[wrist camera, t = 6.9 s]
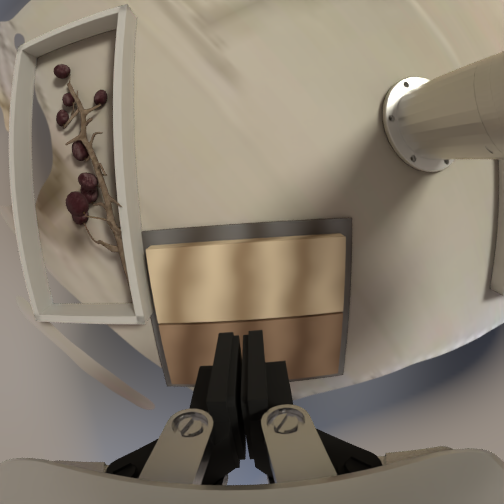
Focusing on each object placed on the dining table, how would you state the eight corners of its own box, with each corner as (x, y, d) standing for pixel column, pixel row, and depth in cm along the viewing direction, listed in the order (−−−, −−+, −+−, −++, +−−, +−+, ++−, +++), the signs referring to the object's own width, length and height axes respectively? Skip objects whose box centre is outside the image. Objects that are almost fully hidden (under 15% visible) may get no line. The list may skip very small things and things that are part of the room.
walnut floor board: (350, 217, 34) (358, 220, 32) (342, 373, 40) (347, 383, 37) (138, 231, 34) (131, 235, 32) (167, 384, 39) (164, 394, 37)
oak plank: (340, 233, 34) (345, 236, 32) (338, 304, 37) (343, 311, 35) (150, 245, 34) (145, 249, 32) (161, 316, 36) (158, 323, 34)
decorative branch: (31, 56, 22) (118, 287, 23) (92, 55, 30) (192, 250, 30) (13, 119, 29) (86, 317, 30) (65, 112, 36) (144, 285, 37)
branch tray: (137, 17, 27) (127, 4, 24) (154, 309, 37) (145, 324, 33) (33, 54, 27) (18, 46, 23) (50, 309, 36) (36, 321, 32)
